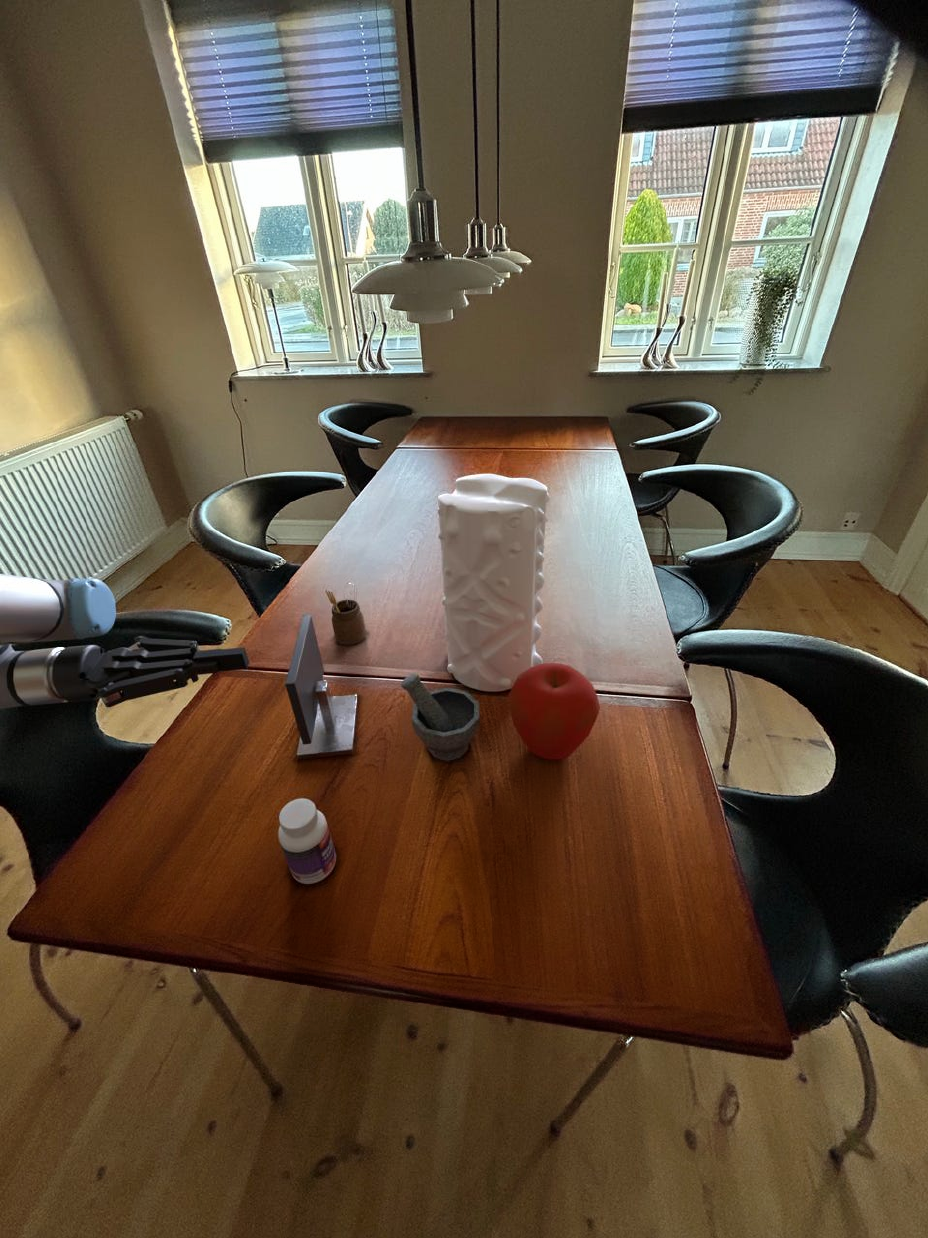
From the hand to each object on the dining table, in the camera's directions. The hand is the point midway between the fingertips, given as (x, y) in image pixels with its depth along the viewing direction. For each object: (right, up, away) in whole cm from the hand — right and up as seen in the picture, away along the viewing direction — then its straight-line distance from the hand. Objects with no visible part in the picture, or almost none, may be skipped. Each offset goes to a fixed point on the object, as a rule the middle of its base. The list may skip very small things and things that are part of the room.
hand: (245, 658), depth 74 cm
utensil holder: (+8, +2, +29) cm, 30 cm away
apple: (+43, -13, +4) cm, 45 cm away
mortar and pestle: (+27, -13, +5) cm, 31 cm away
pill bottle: (+12, -24, -10) cm, 29 cm away
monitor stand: (+9, -12, +9) cm, 17 cm away
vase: (+36, -3, +21) cm, 41 cm away
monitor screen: (+8, -7, +6) cm, 12 cm away
